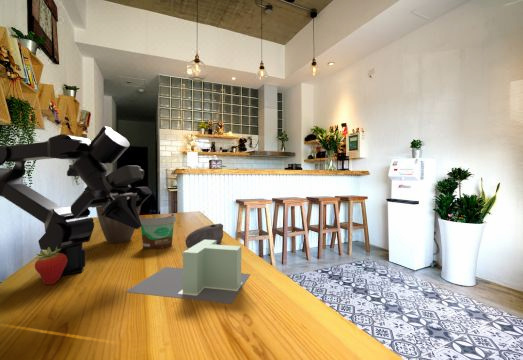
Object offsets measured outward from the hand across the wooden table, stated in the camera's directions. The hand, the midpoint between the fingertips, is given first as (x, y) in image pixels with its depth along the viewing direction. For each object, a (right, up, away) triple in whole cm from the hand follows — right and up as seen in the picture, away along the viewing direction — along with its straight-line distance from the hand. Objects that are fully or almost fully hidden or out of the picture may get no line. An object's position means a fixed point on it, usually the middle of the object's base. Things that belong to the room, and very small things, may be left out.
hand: (139, 227), depth 57 cm
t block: (+18, -11, -4) cm, 22 cm away
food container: (-5, -11, +26) cm, 28 cm away
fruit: (-17, -12, -3) cm, 21 cm away
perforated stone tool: (+9, -12, +26) cm, 30 cm away
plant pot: (-23, -11, +33) cm, 42 cm away
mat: (+13, -12, -3) cm, 17 cm away
